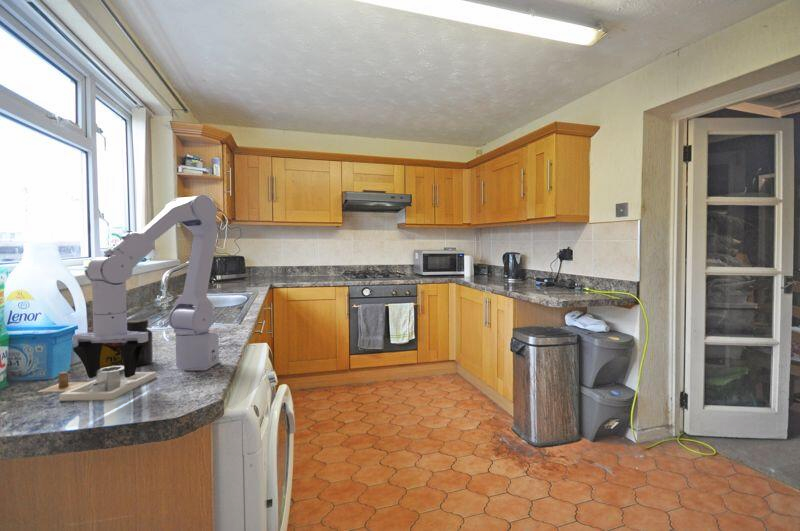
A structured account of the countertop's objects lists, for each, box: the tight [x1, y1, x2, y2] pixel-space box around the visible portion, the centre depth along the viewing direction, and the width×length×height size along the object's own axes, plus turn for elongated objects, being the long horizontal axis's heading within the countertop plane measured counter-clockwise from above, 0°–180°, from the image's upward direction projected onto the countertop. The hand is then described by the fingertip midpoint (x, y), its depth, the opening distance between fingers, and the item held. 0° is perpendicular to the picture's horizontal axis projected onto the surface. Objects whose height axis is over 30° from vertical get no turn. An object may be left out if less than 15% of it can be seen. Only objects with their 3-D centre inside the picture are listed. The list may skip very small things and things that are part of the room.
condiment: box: [100, 339, 121, 368], centre depth 100 cm, size 7×8×12 cm
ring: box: [92, 365, 127, 392], centre depth 80 cm, size 5×7×4 cm
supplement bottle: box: [120, 319, 154, 369], centre depth 99 cm, size 7×7×12 cm
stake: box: [36, 371, 89, 393], centre depth 82 cm, size 6×6×4 cm
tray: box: [58, 371, 157, 402], centre depth 81 cm, size 10×14×2 cm
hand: (112, 376), depth 81 cm, fingers open, 7 cm apart
